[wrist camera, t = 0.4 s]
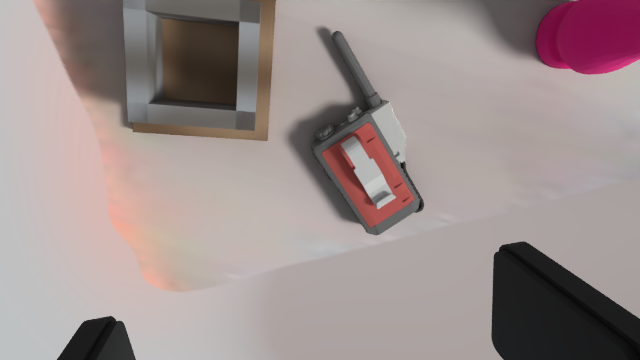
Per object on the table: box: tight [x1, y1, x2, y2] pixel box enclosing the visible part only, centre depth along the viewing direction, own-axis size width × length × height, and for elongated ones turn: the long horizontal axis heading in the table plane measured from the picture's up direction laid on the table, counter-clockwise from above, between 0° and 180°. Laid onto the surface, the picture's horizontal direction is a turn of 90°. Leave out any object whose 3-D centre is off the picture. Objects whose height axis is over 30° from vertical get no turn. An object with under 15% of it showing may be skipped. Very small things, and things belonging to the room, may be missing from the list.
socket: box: [123, 0, 276, 141], centre depth 32 cm, size 13×12×6 cm
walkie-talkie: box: [311, 31, 424, 235], centre depth 37 cm, size 9×4×20 cm
